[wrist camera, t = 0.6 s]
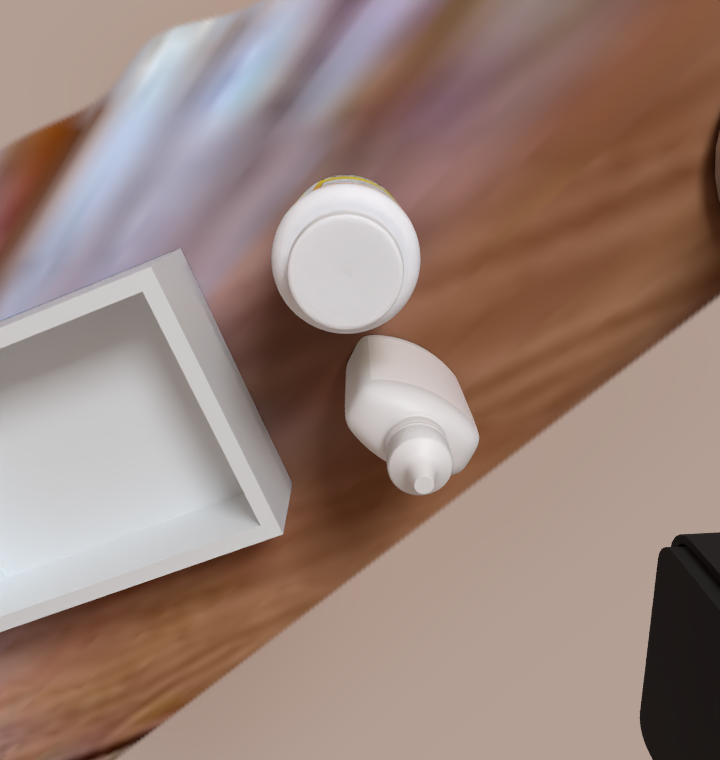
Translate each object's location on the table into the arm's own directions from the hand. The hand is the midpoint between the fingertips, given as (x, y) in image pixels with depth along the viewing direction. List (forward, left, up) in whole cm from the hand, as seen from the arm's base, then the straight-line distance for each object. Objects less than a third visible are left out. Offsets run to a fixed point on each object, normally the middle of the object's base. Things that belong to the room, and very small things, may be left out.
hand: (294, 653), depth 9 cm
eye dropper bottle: (-1, +6, -26) cm, 27 cm away
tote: (+15, +3, -26) cm, 30 cm away
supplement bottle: (-1, -1, -26) cm, 26 cm away
